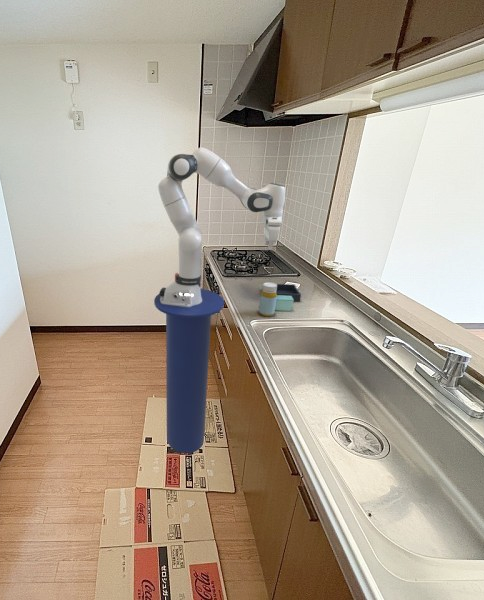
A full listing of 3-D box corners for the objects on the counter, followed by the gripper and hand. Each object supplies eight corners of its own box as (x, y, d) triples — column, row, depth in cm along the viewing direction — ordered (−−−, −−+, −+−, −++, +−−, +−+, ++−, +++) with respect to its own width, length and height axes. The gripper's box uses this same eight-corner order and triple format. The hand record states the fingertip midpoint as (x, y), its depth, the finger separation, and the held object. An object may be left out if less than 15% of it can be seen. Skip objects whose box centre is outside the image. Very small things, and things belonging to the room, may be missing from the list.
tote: (270, 300, 171) (271, 293, 169) (266, 290, 184) (267, 283, 183) (299, 301, 169) (301, 294, 167) (293, 291, 182) (294, 284, 181)
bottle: (271, 318, 152) (276, 288, 146) (256, 314, 155) (260, 285, 149) (275, 312, 157) (279, 283, 151) (261, 309, 161) (264, 281, 155)
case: (272, 310, 160) (274, 299, 158) (270, 305, 165) (272, 294, 162) (291, 311, 159) (293, 299, 156) (289, 306, 163) (291, 295, 161)
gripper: (262, 215, 167) (259, 241, 173) (268, 222, 149) (264, 251, 154) (275, 215, 166) (271, 242, 172) (283, 222, 148) (278, 252, 153)
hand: (268, 246), depth 163 cm, fingers open, 8 cm apart
